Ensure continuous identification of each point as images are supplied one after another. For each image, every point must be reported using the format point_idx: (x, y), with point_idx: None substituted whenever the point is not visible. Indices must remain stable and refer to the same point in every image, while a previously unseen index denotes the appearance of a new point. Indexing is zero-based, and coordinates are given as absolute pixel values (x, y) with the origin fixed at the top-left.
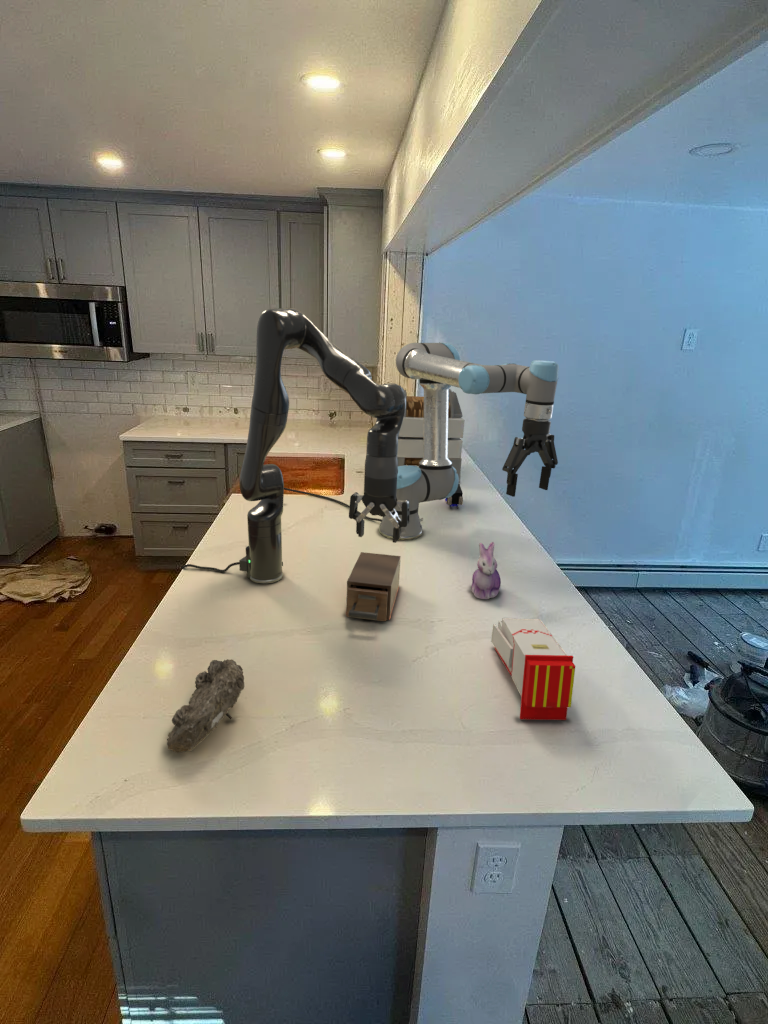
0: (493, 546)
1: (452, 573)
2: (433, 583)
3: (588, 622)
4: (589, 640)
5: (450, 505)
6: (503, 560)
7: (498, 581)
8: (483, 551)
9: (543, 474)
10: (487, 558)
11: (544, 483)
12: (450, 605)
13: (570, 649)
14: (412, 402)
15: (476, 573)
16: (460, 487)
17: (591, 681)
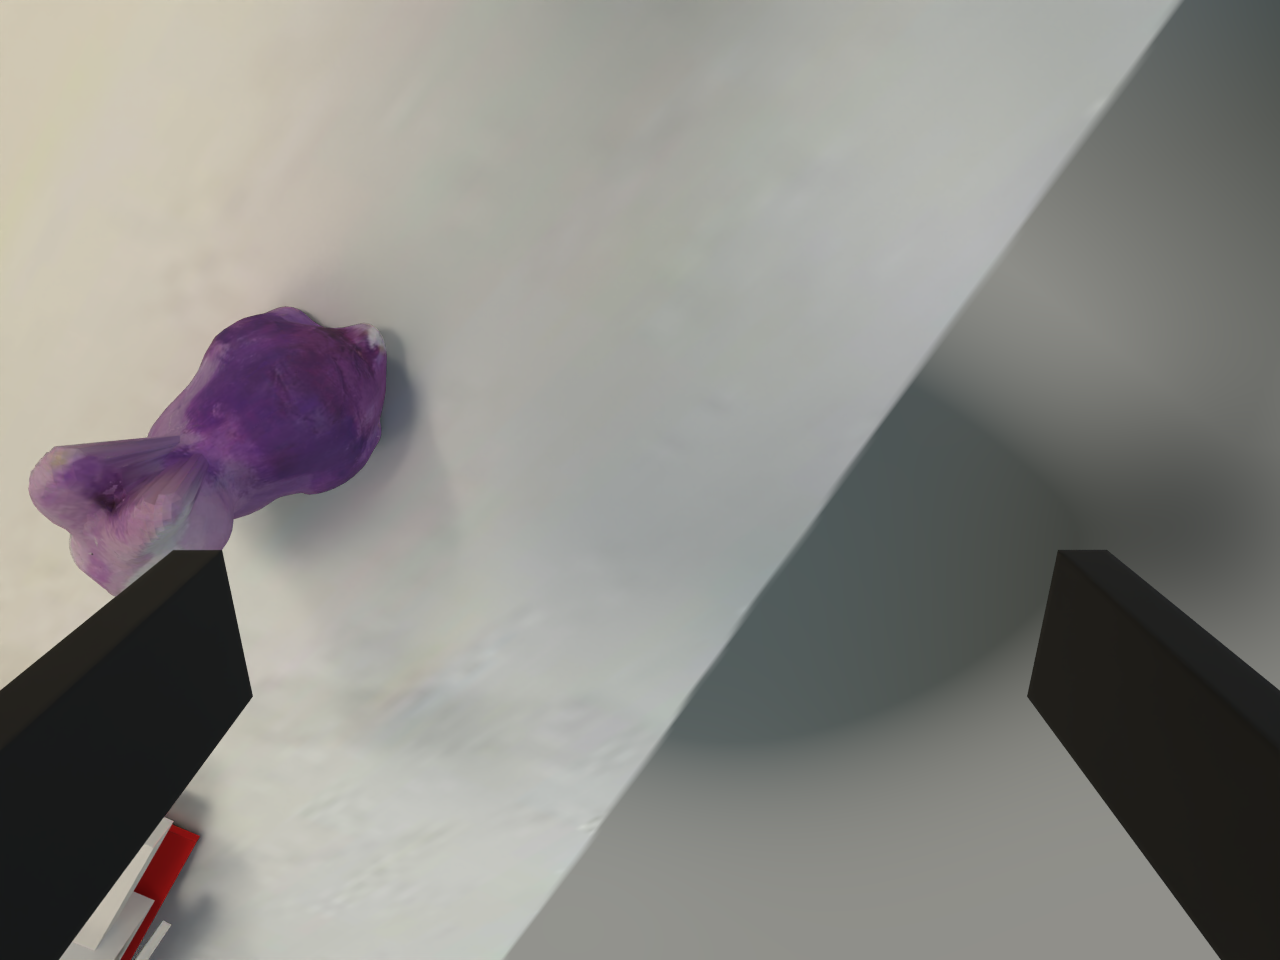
0: (140, 550)
1: (253, 82)
2: (49, 143)
3: (574, 816)
4: (464, 887)
5: None
6: (743, 101)
7: (314, 493)
8: (60, 524)
9: (1238, 810)
10: (86, 567)
11: (1096, 724)
12: (33, 419)
13: (346, 889)
14: None
15: (152, 431)
16: None
17: None
